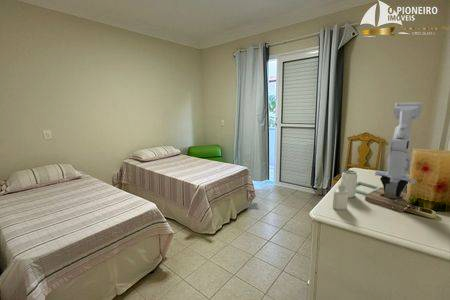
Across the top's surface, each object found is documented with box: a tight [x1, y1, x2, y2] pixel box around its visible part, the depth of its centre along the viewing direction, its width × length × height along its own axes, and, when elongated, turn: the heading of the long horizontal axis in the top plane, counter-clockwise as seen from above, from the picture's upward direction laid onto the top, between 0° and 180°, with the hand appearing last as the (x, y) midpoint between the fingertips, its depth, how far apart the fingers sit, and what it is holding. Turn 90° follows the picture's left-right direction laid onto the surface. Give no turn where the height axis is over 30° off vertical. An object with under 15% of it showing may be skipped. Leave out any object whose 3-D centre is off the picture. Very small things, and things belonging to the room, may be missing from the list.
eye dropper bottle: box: [332, 181, 349, 211], centre depth 88 cm, size 4×6×12 cm
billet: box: [384, 181, 399, 201], centre depth 94 cm, size 5×4×7 cm
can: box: [340, 169, 358, 199], centre depth 101 cm, size 6×6×12 cm
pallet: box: [364, 187, 410, 213], centre depth 95 cm, size 18×14×2 cm
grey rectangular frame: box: [355, 180, 382, 196], centre depth 108 cm, size 14×11×1 cm
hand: (392, 194), depth 95 cm, fingers closed on billet, 4 cm apart
